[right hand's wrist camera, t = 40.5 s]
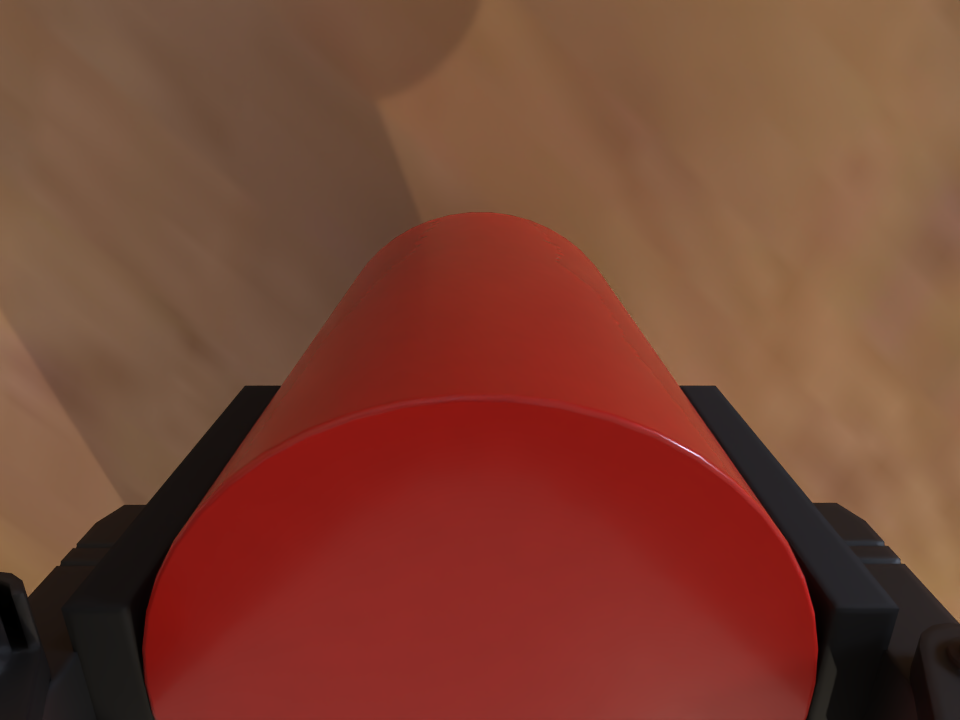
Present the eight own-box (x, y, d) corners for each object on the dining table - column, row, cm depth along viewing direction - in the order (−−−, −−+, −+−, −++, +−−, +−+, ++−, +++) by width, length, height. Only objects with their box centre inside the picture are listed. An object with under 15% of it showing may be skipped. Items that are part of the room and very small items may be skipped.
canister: (421, 516, 21) (357, 966, 10) (282, 292, 19) (-10, 576, 8) (663, 414, 20) (893, 804, 9) (552, 156, 17) (684, 258, 6)
